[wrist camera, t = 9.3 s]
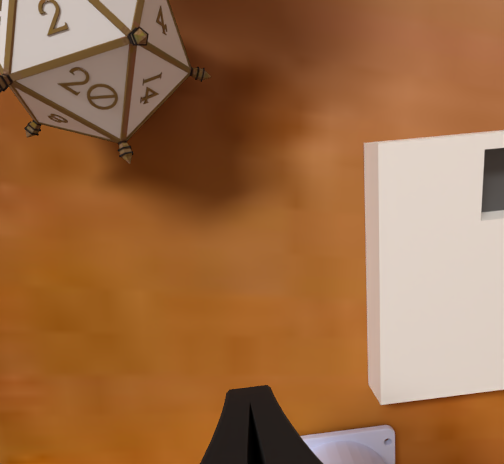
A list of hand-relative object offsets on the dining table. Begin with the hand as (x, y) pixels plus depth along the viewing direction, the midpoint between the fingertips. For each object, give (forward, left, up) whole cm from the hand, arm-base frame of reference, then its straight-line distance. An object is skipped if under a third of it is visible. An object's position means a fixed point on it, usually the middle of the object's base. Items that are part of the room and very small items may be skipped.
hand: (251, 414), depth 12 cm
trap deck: (0, -17, -10) cm, 20 cm away
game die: (+13, +5, -11) cm, 17 cm away
